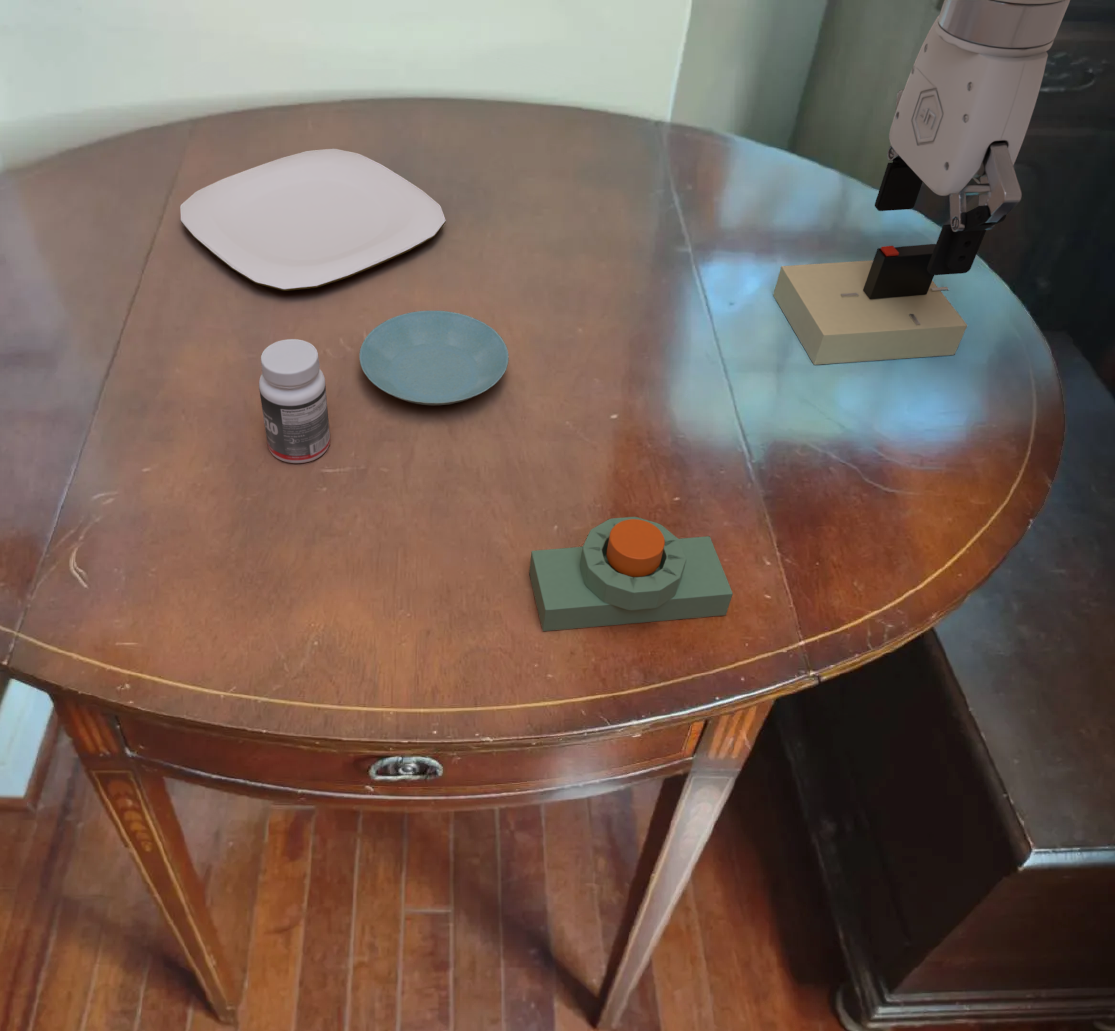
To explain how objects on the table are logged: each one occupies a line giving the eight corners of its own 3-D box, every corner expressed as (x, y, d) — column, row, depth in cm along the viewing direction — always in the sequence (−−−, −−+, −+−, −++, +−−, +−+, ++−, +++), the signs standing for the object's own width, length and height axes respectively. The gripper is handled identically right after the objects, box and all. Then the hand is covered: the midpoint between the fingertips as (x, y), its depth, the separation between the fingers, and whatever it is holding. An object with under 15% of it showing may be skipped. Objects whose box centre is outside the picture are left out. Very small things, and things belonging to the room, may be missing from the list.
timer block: (701, 550, 71) (712, 509, 69) (729, 623, 67) (742, 582, 64) (527, 565, 71) (531, 524, 68) (544, 639, 66) (549, 599, 63)
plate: (157, 217, 102) (153, 201, 101) (339, 150, 111) (338, 135, 110) (279, 320, 90) (277, 303, 89) (472, 235, 99) (472, 219, 98)
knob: (919, 285, 88) (936, 240, 85) (926, 294, 87) (944, 250, 84) (862, 290, 88) (878, 245, 85) (869, 299, 87) (885, 255, 84)
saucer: (533, 363, 86) (535, 340, 84) (455, 444, 79) (455, 421, 77) (415, 316, 90) (414, 294, 89) (331, 388, 84) (329, 366, 82)
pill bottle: (263, 429, 80) (250, 340, 74) (324, 418, 81) (316, 330, 75) (272, 470, 77) (259, 381, 71) (336, 459, 78) (328, 370, 72)
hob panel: (910, 286, 93) (922, 255, 91) (961, 354, 86) (975, 323, 84) (772, 295, 92) (781, 264, 90) (813, 365, 86) (824, 333, 83)
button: (652, 535, 68) (657, 516, 66) (666, 575, 65) (671, 556, 64) (601, 539, 67) (604, 520, 66) (613, 579, 65) (616, 561, 64)
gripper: (894, -27, 77) (832, 189, 89) (1011, 68, 65) (921, 303, 77) (991, -31, 78) (917, 184, 90) (1126, 62, 65) (1019, 296, 77)
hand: (919, 239), depth 83 cm, fingers open, 9 cm apart
